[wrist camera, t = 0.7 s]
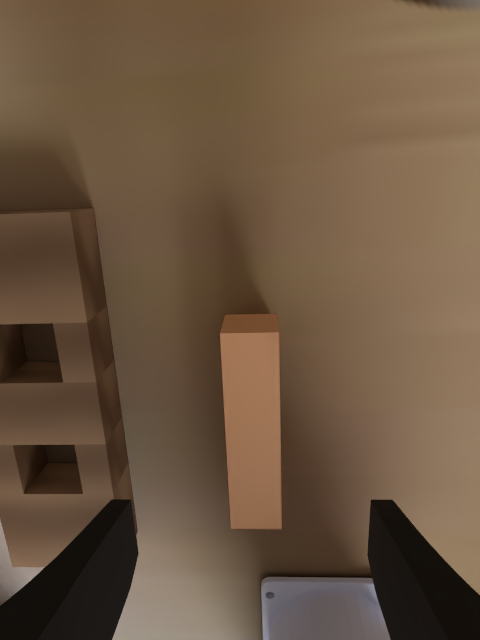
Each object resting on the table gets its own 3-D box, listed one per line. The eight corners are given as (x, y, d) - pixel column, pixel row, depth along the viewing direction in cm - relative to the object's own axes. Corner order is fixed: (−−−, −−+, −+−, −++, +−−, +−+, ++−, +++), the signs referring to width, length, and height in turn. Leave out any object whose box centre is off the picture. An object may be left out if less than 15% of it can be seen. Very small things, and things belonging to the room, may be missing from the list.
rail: (137, 531, 25) (124, 567, 23) (35, 530, 25) (12, 566, 23) (93, 207, 20) (70, 211, 17) (-36, 212, 20) (-76, 217, 18)
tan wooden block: (278, 463, 23) (281, 529, 19) (236, 463, 23) (231, 528, 19) (275, 299, 20) (279, 332, 16) (229, 301, 21) (219, 333, 16)
